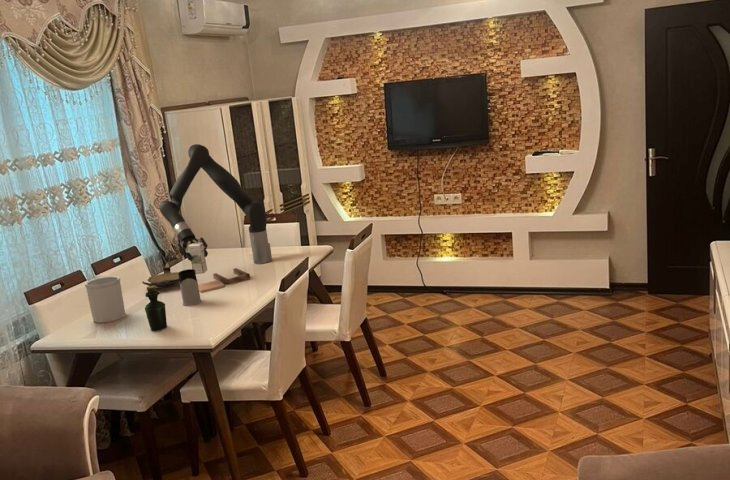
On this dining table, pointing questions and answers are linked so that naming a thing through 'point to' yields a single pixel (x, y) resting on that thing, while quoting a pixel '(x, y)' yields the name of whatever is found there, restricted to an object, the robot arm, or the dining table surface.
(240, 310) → the dining table surface
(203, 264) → the syrup box
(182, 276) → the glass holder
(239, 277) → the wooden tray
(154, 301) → the potion bottle
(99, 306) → the utensil holder
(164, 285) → the oil lamp
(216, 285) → the terracotta pad
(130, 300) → the dining table surface
